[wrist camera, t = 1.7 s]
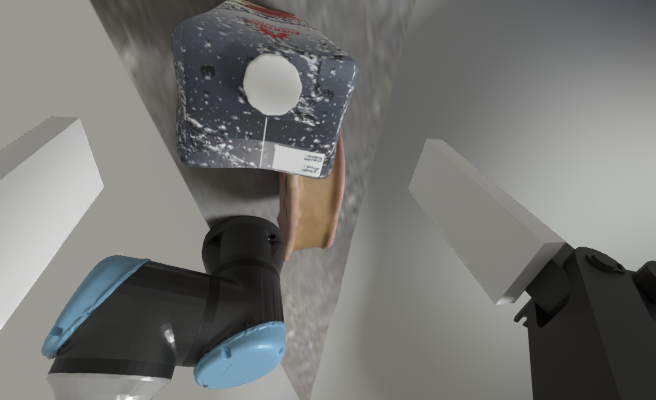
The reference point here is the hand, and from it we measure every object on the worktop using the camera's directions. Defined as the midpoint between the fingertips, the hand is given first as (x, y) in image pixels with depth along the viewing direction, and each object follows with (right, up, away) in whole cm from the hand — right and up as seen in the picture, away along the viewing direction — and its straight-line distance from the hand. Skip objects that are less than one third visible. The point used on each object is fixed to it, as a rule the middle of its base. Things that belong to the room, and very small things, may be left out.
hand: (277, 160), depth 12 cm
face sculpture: (-3, +6, +35) cm, 35 cm away
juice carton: (-7, +18, +25) cm, 31 cm away
